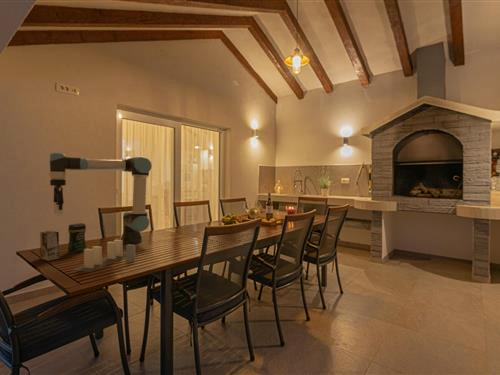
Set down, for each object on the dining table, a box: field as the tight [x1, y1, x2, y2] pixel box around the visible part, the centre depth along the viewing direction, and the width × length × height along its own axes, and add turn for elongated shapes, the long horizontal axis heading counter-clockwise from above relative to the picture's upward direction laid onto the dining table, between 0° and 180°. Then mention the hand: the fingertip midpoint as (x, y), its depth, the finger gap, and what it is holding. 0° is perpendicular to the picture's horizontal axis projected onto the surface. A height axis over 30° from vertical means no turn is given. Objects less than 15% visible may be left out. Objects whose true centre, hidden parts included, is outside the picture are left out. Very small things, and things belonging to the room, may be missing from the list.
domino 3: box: [106, 241, 116, 259], centre depth 159 cm, size 2×5×10 cm, turn 76°
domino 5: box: [125, 244, 136, 263], centre depth 155 cm, size 2×5×10 cm, turn 76°
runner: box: [71, 254, 126, 273], centre depth 152 cm, size 30×12×1 cm, turn 166°
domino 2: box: [91, 245, 103, 265], centre depth 148 cm, size 2×5×10 cm, turn 76°
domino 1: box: [83, 248, 94, 268], centre depth 143 cm, size 2×5×10 cm, turn 76°
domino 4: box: [113, 239, 124, 257], centre depth 164 cm, size 2×5×10 cm, turn 76°
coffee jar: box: [67, 223, 87, 254], centre depth 173 cm, size 10×8×19 cm
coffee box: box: [39, 230, 60, 262], centre depth 158 cm, size 9×6×16 cm
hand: (58, 214), depth 158 cm, fingers open, 13 cm apart
